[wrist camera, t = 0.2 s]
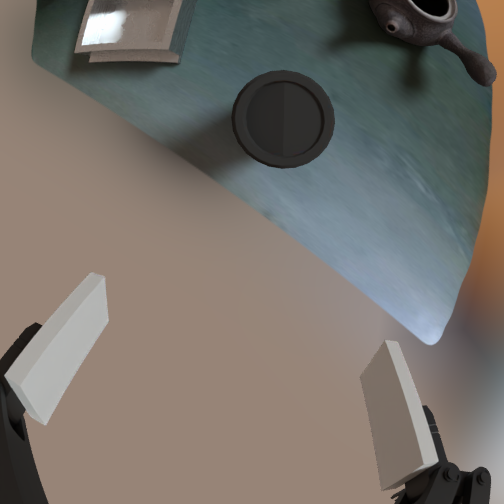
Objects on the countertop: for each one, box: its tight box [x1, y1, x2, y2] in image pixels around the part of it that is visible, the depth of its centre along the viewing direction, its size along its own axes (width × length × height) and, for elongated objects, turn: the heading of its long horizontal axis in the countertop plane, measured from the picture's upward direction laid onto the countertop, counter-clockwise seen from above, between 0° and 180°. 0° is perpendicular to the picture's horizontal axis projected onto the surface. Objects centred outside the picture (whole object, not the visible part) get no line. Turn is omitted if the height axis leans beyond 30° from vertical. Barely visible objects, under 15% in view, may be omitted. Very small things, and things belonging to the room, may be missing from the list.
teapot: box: [368, 0, 497, 86], centre depth 21 cm, size 19×15×10 cm
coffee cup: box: [231, 70, 335, 169], centre depth 27 cm, size 8×8×15 cm
